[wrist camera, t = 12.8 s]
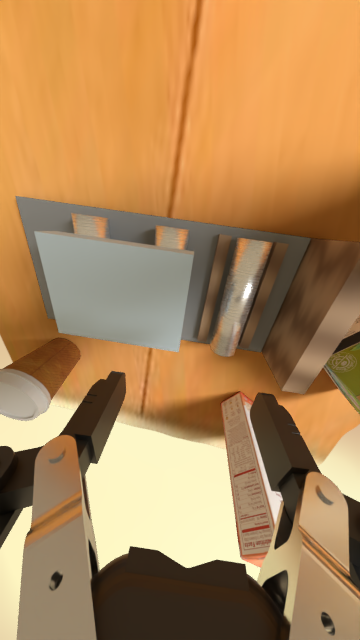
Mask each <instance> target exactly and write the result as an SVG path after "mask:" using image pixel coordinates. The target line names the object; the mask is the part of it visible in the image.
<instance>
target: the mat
mask: <svg viewBox="0 0 360 640" xmlns="http://www.w3.org/2000/svg"><path fill="white" fill-rule="evenodd" d="M16 200H17V204H18V208H19V211H20V215H21V219H22V223H23V226H24V230H25V234H26V238H27V241H28V245H29V249H30V253H31V256H32V260H33V264H34V268H35V271H36V275H37V279H38V282H39V286H40V290H41V294H42V297H43V301H44V305H45V309H46V312H47V316H48V318H50V319H55V315H54V311H53V307H52V303H51V298H50V294H49V290H48V286H47V282H46V278H45V274H44V270H43V266H42V262H41V258H40V253H39V249H38V245H37V241H36V237H35V233H34V231H59V232H66V233H73V234H74V229H73V222H72V215H71V213H74V214H82V215H89V216H96V217H103V218H109V234H110V239H114V240H121V241H127V242H134V243H141V244H148V245H155V228H156V225H158V226H166V227H173V228H180V229H186V230H189V235H188V243H187V250H189V251H194V257H193V263H192V270H191V276H190V283H189V289H188V296H187V302H186V308H185V315H184V321H183V328H182V334H181V340H187V341H193V342H200V343H206V344H210V343H211V339H212V335H213V332H214V328H215V324H216V320H217V316H218V312H219V308H220V304H221V300H222V296H223V293H224V289H225V285H226V281H227V277H228V273H229V269H230V265H231V261H232V258H233V254H234V250H235V246H236V242H237V238H245V239H253V240H259V241H266V242H272V243H273V242H277V243H284V244H289V246H288V248H287V251H286V253H285V256H284V259H283V261H282V264H281V266H280V269H279V271H278V274H277V276H276V279H275V282H274V284H273V287H272V289H271V292H270V294H269V297H268V299H267V302H266V305H265V307H264V310H263V312H262V315H261V317H260V320H259V322H258V325H257V328H256V330H255V333H254V335H253V338H252V340H251V343H250V345H249V348H248V349H247V348H241V347H239V345H237V347H236V348H237V349H243V350H249V351H256V352H261V351H262V349H263V346H264V344H265V342H266V339H267V337H268V335H269V333H270V330H271V328H272V326H273V324H274V321H275V319H276V317H277V314H278V312H279V310H280V308H281V305H282V303H283V301H284V299H285V296H286V294H287V292H288V289H289V287H290V285H291V283H292V280H293V278H294V276H295V274H296V271H297V269H298V267H299V265H300V262H301V260H302V258H303V255H304V253H305V251H306V249H307V246H308V244H309V242H310V240H311V238H306V237H299V236H292V235H285V234H278V233H271V232H264V231H257V230H250V229H243V228H236V227H229V226H222V225H215V224H208V223H201V222H194V221H187V220H180V219H173V218H166V217H159V216H152V215H145V214H138V213H131V212H124V211H117V210H110V209H103V208H96V207H89V206H82V205H75V204H68V203H61V202H54V201H47V200H40V199H33V198H26V197H19V196H16ZM219 234H221V235H228V236H232V238H231V242H230V246H229V250H228V254H227V258H226V262H225V267H224V271H223V275H222V279H221V283H220V287H219V291H218V296H217V300H216V304H215V308H214V312H213V316H212V320H211V324H210V329H209V333H208V337H207V341H206V342H203V341H197V337H198V332H199V327H200V322H201V317H202V313H203V308H204V303H205V298H206V294H207V289H208V284H209V279H210V274H211V270H212V265H213V260H214V255H215V251H216V246H217V241H218V236H219ZM272 245H273V244H272ZM271 248H272V247H271ZM270 251H271V250H270ZM269 254H270V253H269ZM268 257H269V256H268ZM264 268H265V267H264ZM263 271H264V270H263ZM262 274H263V273H262ZM261 277H262V276H261ZM257 288H258V287H257ZM256 291H257V290H256ZM255 294H256V293H255ZM254 297H255V296H254ZM250 308H251V307H250ZM249 311H250V310H249ZM248 314H249V313H248ZM247 317H248V316H247ZM243 328H244V327H243ZM242 331H243V330H242ZM241 334H242V333H241Z"/></svg>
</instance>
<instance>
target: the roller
mask: <svg viewBox="0 0 360 640" xmlns="http://www.w3.org/2000/svg"><path fill="white" fill-rule="evenodd" d="M272 244H273V243H272V242H266V241H259V240H253V239H245V238H237V242H236V246H235V250H234V254H233V258H232V261H231V265H230V269H229V273H228V277H227V281H226V285H225V289H224V293H223V296H222V300H221V304H220V308H219V312H218V316H217V320H216V324H215V328H214V332H213V335H212V339H211V343H210V348H211V350H212V351H213V352H214V353H216V354H218V355H220V356H225V357H229V356H232V355H234V353H235V350H236V347H237V345H238V342H239V339H240V336H241V333H242V330H243V327H244V325H245V322H246V319H247V316H248V313H249V310H250V307H251V305H252V302H253V299H254V296H255V293H256V290H257V287H258V285H259V282H260V279H261V276H262V273H263V270H264V267H265V265H266V262H267V259H268V256H269V253H270V250H271V247H272Z"/></svg>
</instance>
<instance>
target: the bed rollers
mask: <svg viewBox="0 0 360 640" xmlns="http://www.w3.org/2000/svg"><path fill="white" fill-rule="evenodd" d="M71 215H72V222H73V229H74V234H80V235H87V236H93V237H100V238H107V239H110V234H109V218H103V217H96V216H89V215H82V214H74V213H71ZM188 235H189V230H186V229H180V228H173V227H166V226H158V225H156V228H155V246H161V247H168V248H175V249H182V250H187V243H188Z"/></svg>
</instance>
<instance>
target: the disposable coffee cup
mask: <svg viewBox="0 0 360 640" xmlns="http://www.w3.org/2000/svg"><path fill="white" fill-rule="evenodd" d="M79 359H80V351H79V349H78V348H77V346H76V345H75V344H73V343H72V342H70V341H69V340H66V339H62V338H57V339H54V340H52V341H51V342H49V343H47V344H45V345H44V346H42V347H40V348H38V349H36V350H35V351H33V352H31V353H30V354H28V355H26V356H24V357H22V358H21V359H19V360H17V361H15V362H14V363H12V364H10V365H8V366H7V367H5V368H3V369H0V414H2V415H4V416H6V417H9V418H12V419H17V420H21V421H29V420H33V419H35V418H37V417H38V416H39V415H40V414H42V413H44V412H46V411H47V409H48V408H49V404H50V402H51V400H52V398H53V396H54V395H55V394H56V392H57V391H58V389H59V388H60V386H61V385H62V384H63V382H64V381H65V379H66V378H67V376H68V375H69V373H70V372H71V370H72V369H73V368H74V366H75V365H76V363H77V362H78V360H79Z"/></svg>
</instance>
